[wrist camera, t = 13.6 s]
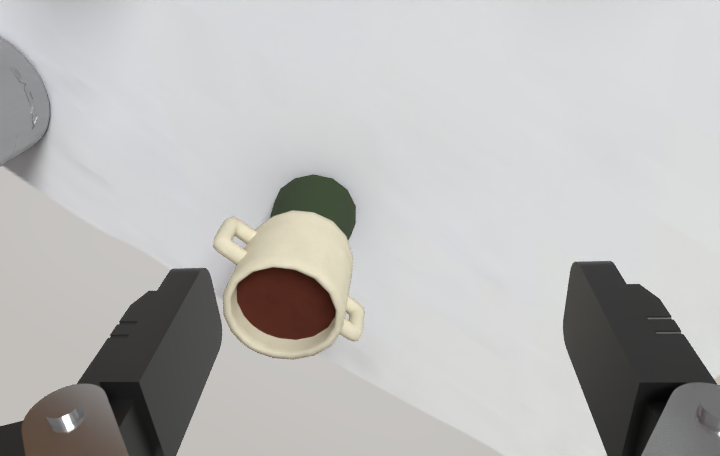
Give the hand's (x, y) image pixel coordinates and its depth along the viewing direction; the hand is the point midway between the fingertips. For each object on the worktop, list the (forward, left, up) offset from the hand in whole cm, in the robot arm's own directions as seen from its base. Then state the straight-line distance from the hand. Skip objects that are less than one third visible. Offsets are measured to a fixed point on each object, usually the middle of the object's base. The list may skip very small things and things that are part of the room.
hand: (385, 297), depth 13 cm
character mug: (-7, -12, -28) cm, 31 cm away
